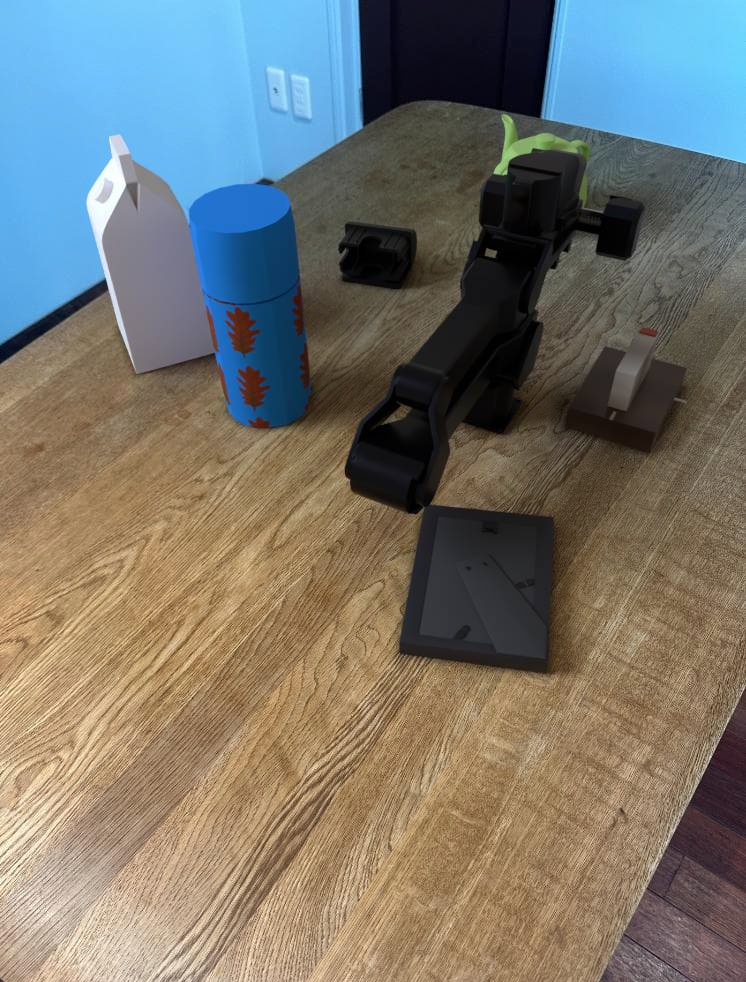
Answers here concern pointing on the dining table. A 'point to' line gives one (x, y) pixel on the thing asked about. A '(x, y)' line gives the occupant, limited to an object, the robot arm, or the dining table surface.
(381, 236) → the end cap
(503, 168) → the teapot
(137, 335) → the milk
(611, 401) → the light gray block
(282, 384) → the thermos
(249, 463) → the dining table surface
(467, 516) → the picture frame
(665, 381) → the dark brown pegged box
